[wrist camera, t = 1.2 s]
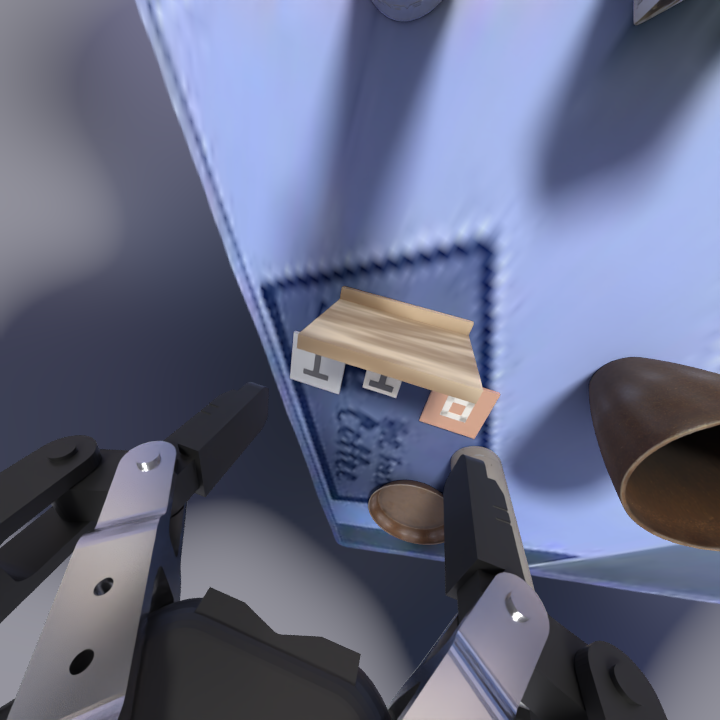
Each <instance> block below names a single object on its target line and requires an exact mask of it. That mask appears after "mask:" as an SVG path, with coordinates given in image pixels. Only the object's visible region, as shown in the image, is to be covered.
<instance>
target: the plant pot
mask: <svg viewBox="0 0 720 720" xmlns="http://www.w3.org/2000/svg"><path fill="white" fill-rule="evenodd" d="M589 401H590V410H591V416H592V421H593V426H594V430H595V434H596V438H597V441H598V445H599V448H600V451H601V454H602V457H603V460H604V463H605V465H606V468H607V471H608V473H609V476H610V478H611V480H612V483H613V485H614V487H615V490H616V492H617V494H618V497H619V499H620V501H621V503H622V505H623V507H624V509H625V511H626V512H627V514H628V515H629V517H630V518H631V519H632V520H633V521H634V522H636V523H637V524H638V525H639V526H640V527H642V528H643V529H645V530H646V531H648V532H650V533H652V534H653V535H656V536H658V537H660V538H662V539H665V540H668V541H671V542H673V543H677V544H680V545H684V546H689V547H694V548H699V549H705V550H713V551H720V374H717V373H713V372H710V371H706V370H702V369H698V368H694V367H690V366H685V365H681V364H676V363H671V362H666V361H660V360H655V359H648V358H641V357H627V358H622V359H618V360H615V361H612V362H610V363H608V364H606V365H604V366H603V367H601V368H600V369H599V370H598V371H597V372H596V373H595V374H594V375H593V376H592V378H591V380H590V383H589Z"/></svg>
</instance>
